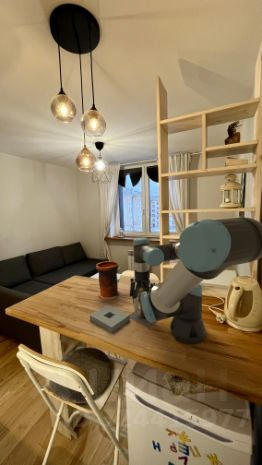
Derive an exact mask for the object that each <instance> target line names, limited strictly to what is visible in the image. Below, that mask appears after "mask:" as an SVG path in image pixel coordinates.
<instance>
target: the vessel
mask: <svg viewBox="0 0 262 465" xmlns="http://www.w3.org/2000/svg"><path fill="white" fill-rule="evenodd" d="M119 267H120V266H119V263H118V262H116V261H112V260H108V261H107V260H106V261H101V262H99V263H97V264H96V265H95V269H96V271H97V273H98V284H99V285H98V286H99V291H100V293H99V294H98V296H99V297H100V298H101V299H105V300H106V299H107V300H109V299H114V298H116V297H117V296H119V295H120V292H119V288H118V285H119V284H118V283H119V282H118V273H119V271H118V269H119Z"/></svg>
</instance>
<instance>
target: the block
mask: <svg viewBox="0 0 262 465" xmlns="http://www.w3.org/2000/svg"><path fill="white" fill-rule="evenodd" d="M89 321H91V322H93V323H94V324H96V325H98V326H100V327H102V328H103V329H105V330H107V331H109V332H110V333H114V332H115V331H117V330H118V329H119V328H122V326H124V325H125V324H126V323H128V322H129V321H131V319H130V314H128V313H126V312H123V311H122V310H120V309H117V308H115V307H113V306H110V305H108V304H106V305H104V306H103V307H102V308H100V309H99V308H98V310H96V311H95V312H93V313H91V314H89Z"/></svg>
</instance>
